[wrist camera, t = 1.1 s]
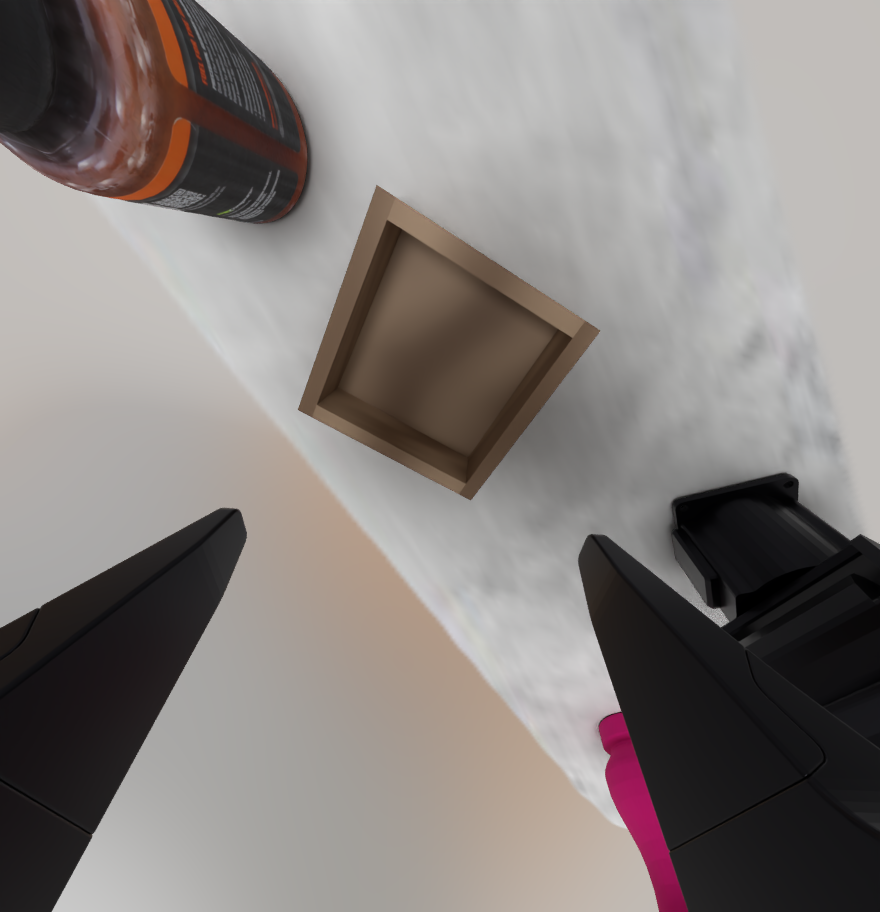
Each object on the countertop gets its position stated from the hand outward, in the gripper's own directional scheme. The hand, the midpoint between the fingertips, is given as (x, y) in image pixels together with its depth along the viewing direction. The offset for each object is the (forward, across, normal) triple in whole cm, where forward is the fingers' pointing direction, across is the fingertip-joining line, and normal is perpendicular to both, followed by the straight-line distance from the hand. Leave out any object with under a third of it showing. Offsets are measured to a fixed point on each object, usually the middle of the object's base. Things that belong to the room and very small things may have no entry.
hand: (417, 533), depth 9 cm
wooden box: (+13, 0, -1) cm, 13 cm away
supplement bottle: (+14, +9, -9) cm, 20 cm away
